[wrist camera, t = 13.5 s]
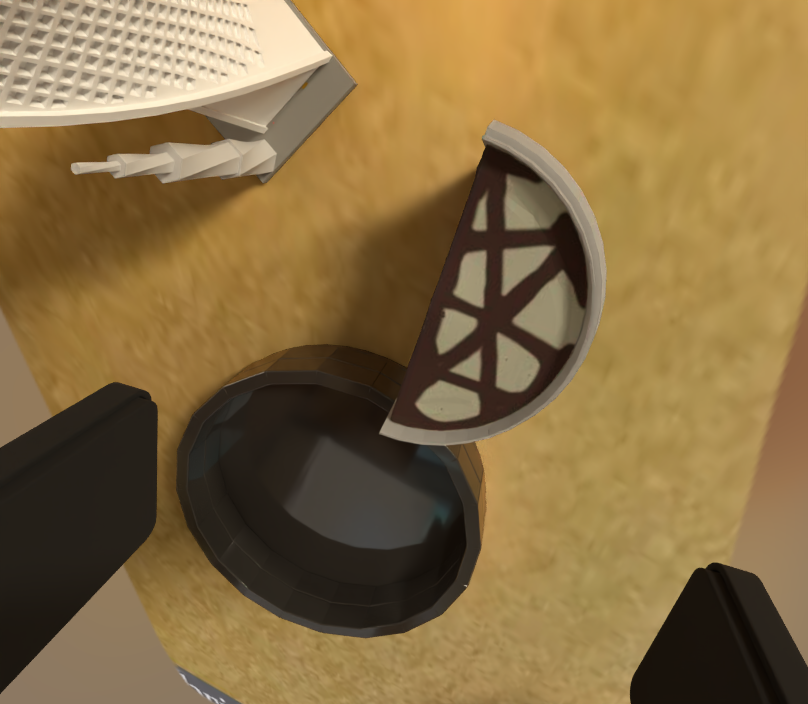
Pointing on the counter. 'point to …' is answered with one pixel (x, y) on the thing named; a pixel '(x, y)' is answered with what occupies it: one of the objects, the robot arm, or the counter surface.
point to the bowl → (329, 495)
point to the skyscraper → (172, 77)
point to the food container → (505, 301)
